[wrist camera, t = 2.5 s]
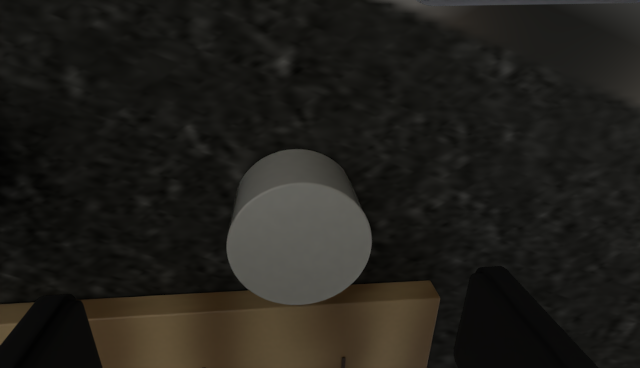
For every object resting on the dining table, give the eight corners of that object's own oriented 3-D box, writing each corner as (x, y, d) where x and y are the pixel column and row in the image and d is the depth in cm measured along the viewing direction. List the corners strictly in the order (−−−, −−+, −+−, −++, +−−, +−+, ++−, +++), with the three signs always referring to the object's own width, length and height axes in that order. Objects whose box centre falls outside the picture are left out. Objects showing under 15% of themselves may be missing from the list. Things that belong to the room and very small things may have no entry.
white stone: (358, 147, 14) (378, 180, 11) (351, 251, 16) (366, 301, 13) (230, 149, 13) (219, 185, 11) (239, 256, 15) (231, 310, 13)
